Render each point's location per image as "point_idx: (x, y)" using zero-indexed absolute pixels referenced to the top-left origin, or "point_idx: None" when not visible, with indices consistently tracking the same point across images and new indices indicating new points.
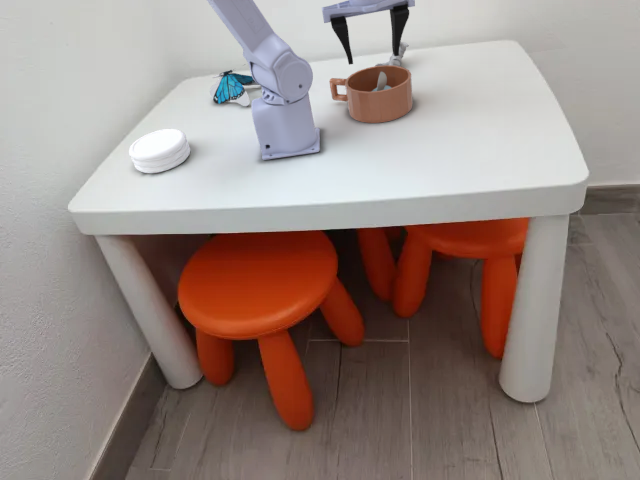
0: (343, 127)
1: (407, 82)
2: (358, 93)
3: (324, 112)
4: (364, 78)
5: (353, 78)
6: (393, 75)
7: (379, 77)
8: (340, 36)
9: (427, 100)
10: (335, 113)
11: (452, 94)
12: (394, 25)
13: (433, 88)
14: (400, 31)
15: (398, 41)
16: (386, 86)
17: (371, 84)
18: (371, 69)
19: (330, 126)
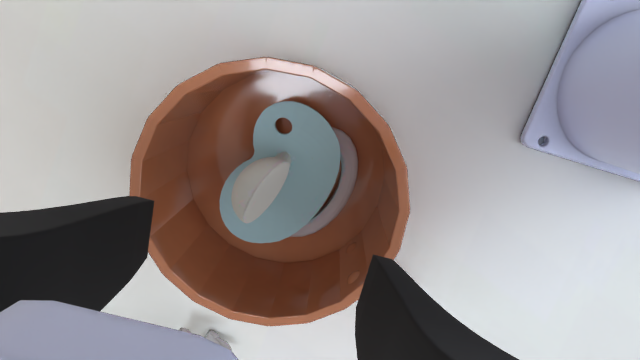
0: (441, 114)
1: (171, 92)
2: (388, 126)
3: (450, 252)
4: (292, 296)
5: (341, 292)
6: (189, 255)
7: (267, 175)
8: (499, 352)
9: (135, 129)
10: (423, 224)
11: (50, 120)
12: (7, 247)
13: (91, 197)
14: (10, 219)
15: (80, 207)
16: (233, 228)
17: (272, 279)
18: (255, 311)
19: (474, 147)
